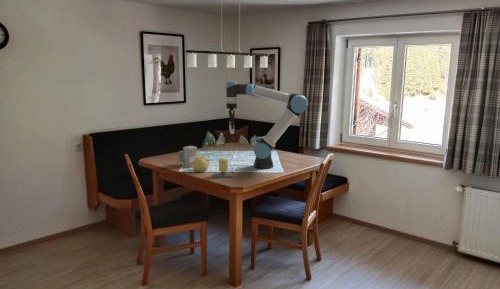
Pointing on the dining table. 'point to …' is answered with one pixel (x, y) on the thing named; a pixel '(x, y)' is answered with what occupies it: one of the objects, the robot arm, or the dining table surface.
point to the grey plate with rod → (223, 174)
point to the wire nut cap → (223, 164)
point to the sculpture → (200, 164)
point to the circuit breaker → (188, 156)
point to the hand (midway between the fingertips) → (231, 132)
